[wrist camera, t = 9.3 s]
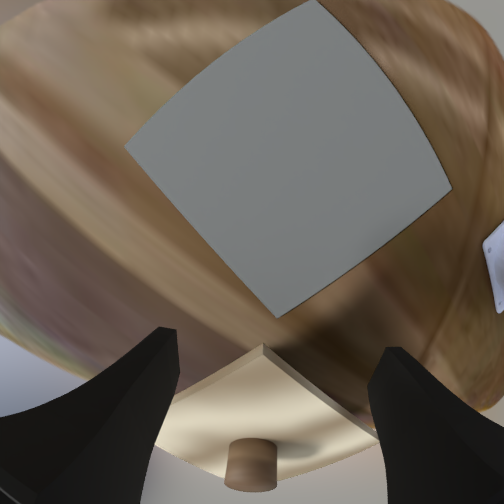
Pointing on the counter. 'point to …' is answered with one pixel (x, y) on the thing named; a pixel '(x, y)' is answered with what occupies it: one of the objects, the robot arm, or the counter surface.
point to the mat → (292, 157)
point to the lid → (260, 424)
